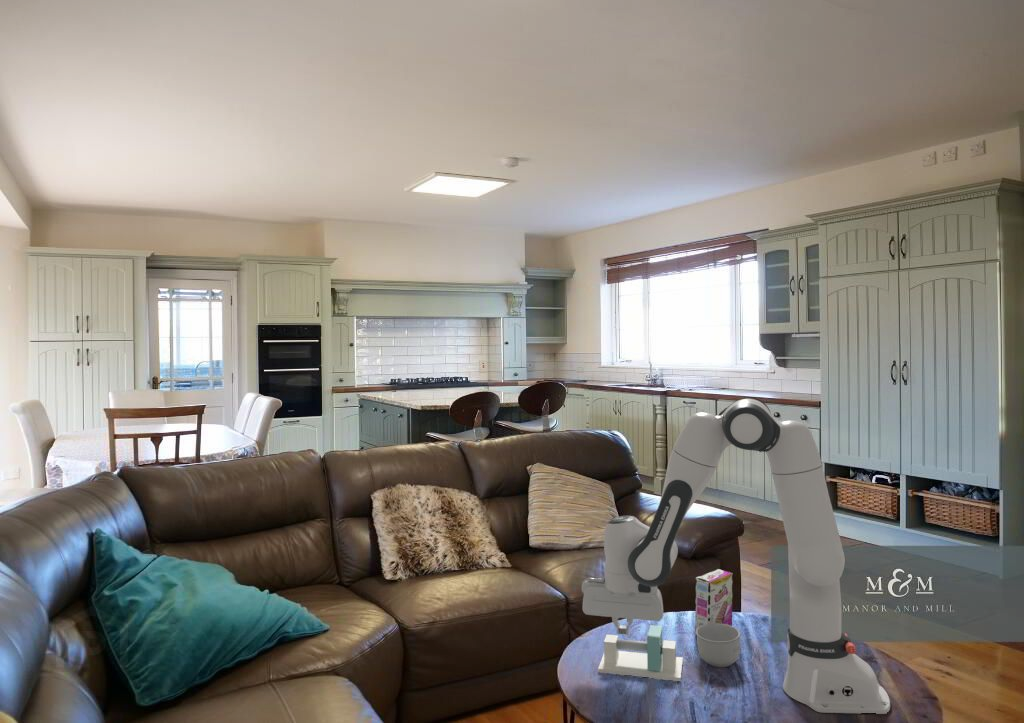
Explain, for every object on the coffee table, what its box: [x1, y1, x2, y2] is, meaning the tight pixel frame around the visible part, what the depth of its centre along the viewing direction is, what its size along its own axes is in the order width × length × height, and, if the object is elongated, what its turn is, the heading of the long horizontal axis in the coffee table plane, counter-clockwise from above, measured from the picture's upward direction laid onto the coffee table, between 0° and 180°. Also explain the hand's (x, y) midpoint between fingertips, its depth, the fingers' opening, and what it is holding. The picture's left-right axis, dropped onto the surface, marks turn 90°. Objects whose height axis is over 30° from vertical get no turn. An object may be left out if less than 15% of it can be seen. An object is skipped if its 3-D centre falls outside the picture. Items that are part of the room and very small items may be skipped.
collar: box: [646, 624, 663, 671], centre depth 182 cm, size 3×8×8 cm, turn 164°
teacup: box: [695, 621, 741, 668], centre depth 186 cm, size 14×11×8 cm
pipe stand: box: [597, 634, 684, 683], centre depth 183 cm, size 20×11×7 cm, turn 74°
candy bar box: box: [694, 568, 733, 636], centre depth 201 cm, size 11×5×16 cm, turn 130°
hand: (622, 633), depth 184 cm, fingers closed
